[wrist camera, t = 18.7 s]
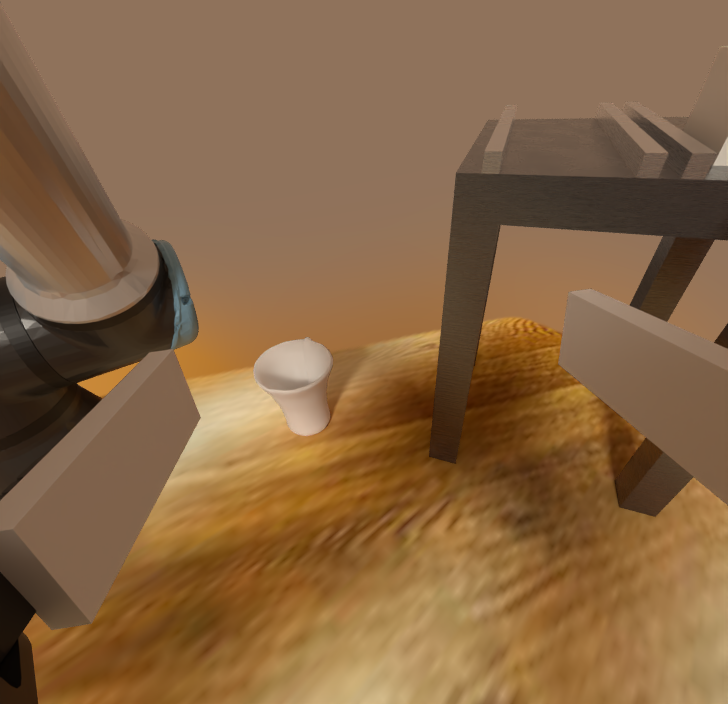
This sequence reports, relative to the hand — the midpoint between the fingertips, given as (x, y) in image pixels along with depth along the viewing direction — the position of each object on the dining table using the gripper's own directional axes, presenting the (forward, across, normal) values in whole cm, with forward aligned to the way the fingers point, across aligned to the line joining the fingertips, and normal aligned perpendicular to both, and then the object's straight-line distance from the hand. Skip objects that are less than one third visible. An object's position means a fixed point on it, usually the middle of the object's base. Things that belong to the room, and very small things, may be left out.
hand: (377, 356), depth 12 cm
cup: (+28, -8, -22) cm, 37 cm away
